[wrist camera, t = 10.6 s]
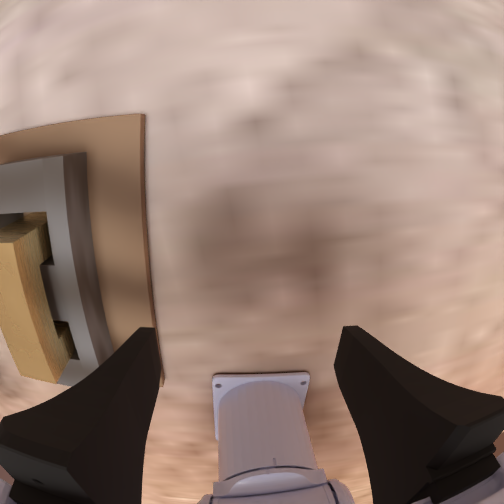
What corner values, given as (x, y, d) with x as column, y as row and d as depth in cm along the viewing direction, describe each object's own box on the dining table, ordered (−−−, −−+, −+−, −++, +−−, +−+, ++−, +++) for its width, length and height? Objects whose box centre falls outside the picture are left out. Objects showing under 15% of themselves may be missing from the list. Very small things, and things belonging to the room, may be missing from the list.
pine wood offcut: (86, 330, 20) (56, 383, 15) (55, 326, 20) (20, 375, 14) (65, 211, 17) (12, 242, 11) (31, 212, 17) (-24, 242, 11)
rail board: (164, 379, 23) (157, 414, 20) (29, 360, 22) (12, 387, 19) (145, 114, 16) (123, 109, 13) (-17, 141, 15) (-51, 147, 11)
